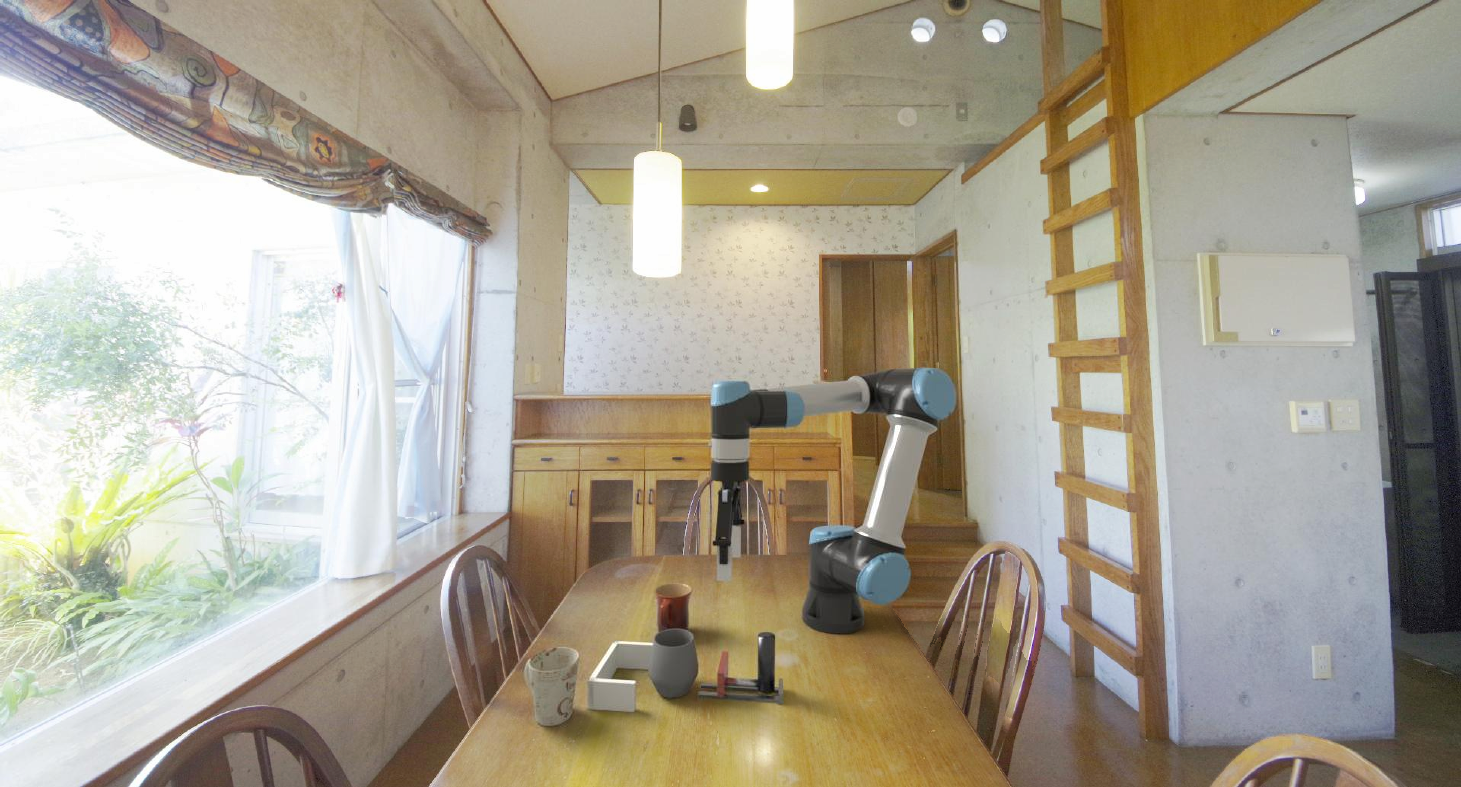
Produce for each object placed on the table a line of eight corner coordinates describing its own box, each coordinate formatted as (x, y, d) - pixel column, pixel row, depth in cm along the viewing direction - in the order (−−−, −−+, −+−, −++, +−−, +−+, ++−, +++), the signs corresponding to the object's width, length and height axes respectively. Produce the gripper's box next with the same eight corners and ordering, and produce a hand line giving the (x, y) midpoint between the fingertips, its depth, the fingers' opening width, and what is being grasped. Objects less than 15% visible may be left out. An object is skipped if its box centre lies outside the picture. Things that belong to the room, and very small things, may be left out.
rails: (782, 689, 100) (782, 678, 100) (782, 704, 95) (782, 693, 95) (701, 684, 102) (701, 673, 102) (697, 699, 97) (697, 688, 97)
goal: (654, 667, 108) (654, 643, 108) (634, 712, 93) (634, 683, 93) (614, 665, 109) (614, 640, 109) (587, 709, 94) (587, 681, 94)
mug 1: (550, 737, 86) (550, 676, 86) (502, 712, 93) (502, 655, 93) (588, 711, 93) (589, 654, 93) (542, 689, 100) (542, 636, 100)
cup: (643, 682, 102) (643, 631, 102) (688, 672, 106) (689, 623, 106) (656, 709, 94) (656, 653, 94) (705, 698, 97) (705, 644, 97)
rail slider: (775, 678, 102) (775, 626, 102) (774, 702, 94) (774, 646, 94) (722, 674, 103) (722, 623, 103) (717, 698, 95) (717, 643, 95)
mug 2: (661, 623, 128) (661, 581, 128) (696, 627, 126) (696, 584, 126) (643, 647, 116) (643, 601, 116) (681, 651, 114) (681, 604, 114)
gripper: (721, 451, 116) (720, 547, 116) (698, 468, 91) (698, 590, 91) (755, 452, 115) (754, 549, 115) (741, 469, 90) (740, 593, 90)
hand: (729, 568), depth 103 cm, fingers open, 13 cm apart
